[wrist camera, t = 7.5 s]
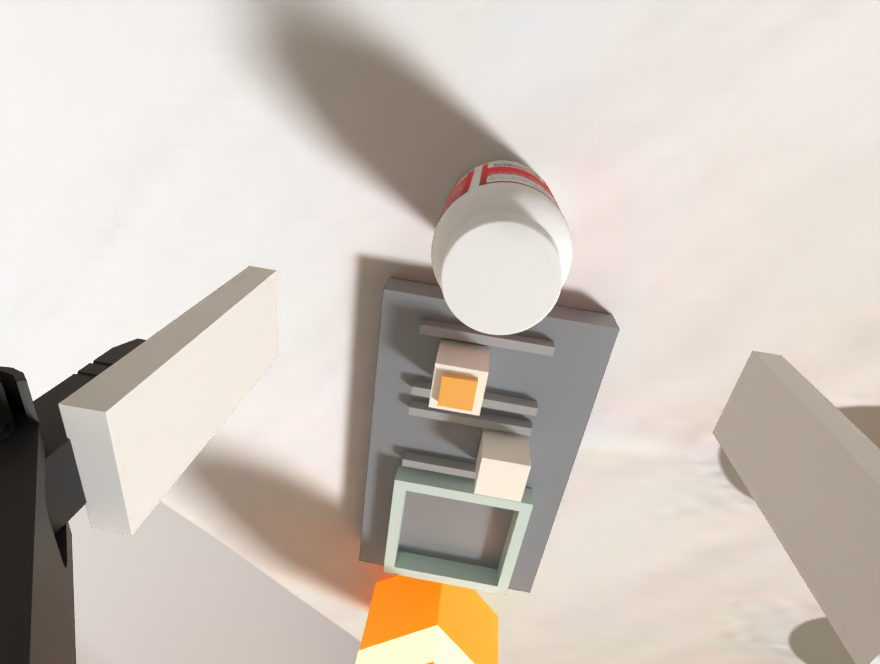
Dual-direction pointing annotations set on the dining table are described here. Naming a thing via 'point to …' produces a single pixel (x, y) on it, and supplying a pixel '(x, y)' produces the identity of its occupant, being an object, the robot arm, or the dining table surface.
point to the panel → (473, 441)
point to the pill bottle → (501, 249)
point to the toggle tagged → (460, 377)
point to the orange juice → (428, 625)
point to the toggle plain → (502, 465)
